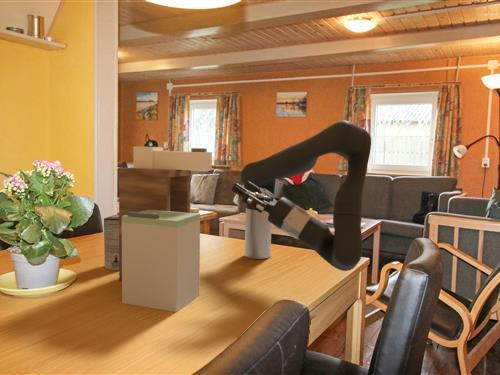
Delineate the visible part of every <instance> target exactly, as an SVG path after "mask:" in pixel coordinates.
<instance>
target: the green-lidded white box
mask: <svg viewBox="0 0 500 375" xmlns="http://www.w3.org/2000/svg"><path fill="white" fill-rule="evenodd" d="M200 245H201V213H194V212H190V213H185V212H173V211H160V210H145V211H141V212H128V215H124V216H122V281H121V304H126V305H132V306H133V305H134V306H138V307H142V308H143V307H144V308H150V309H157V310H163V311H168V312H174V313H178V311H180V310H182V309H183V308H184V307H185V306H187V305H188V304H190V303H192V301H194V300H196V299H197V298H198V297H199V296H200V269H201V268H200V266H201V265H200V262H201V261H200V259H201V258H200V257H201V256H200V254H201V246H200Z"/></svg>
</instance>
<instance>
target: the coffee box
mask: <svg viewBox="0 0 500 375" xmlns="http://www.w3.org/2000/svg"><path fill="white" fill-rule="evenodd" d="M103 237H104V238H103V240H104V242H103V246H104V248H103V250H104V269H105V270H112V271H113V270H114V271H119V213H117V214H114V215H111V216H107V217H104V218H103Z"/></svg>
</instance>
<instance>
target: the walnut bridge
mask: <svg viewBox="0 0 500 375" xmlns="http://www.w3.org/2000/svg"><path fill="white" fill-rule="evenodd" d="M191 175H192V170H173V169H146V168H133V166H132V167H119V168H118V214H119V270H118V276H119V280H118V281H119V282H122V216H124V215H128V212H141V211H145V210H160V211H173V212H185V213H191V194H192V193H191V190H192V188H191V185H192V182H191V178H192V176H191Z"/></svg>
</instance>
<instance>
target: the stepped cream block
mask: <svg viewBox="0 0 500 375" xmlns="http://www.w3.org/2000/svg"><path fill="white" fill-rule="evenodd" d="M132 152H133V160H132V161H133V164H132V165H133V166H132V167H133V168H146V169H173V170H191V171H200V172H209V171H212V169H213V162H212V161H213V160H212V159H213V152H211V151H210V152H209V151H208V149H207V148H197V147H196V148H194V147H191V149H190V151H185V150H184V151H182V150H180V151H179V150H178V151H177V150H176V151H175V150H164V147H161V146H133V150H132Z"/></svg>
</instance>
